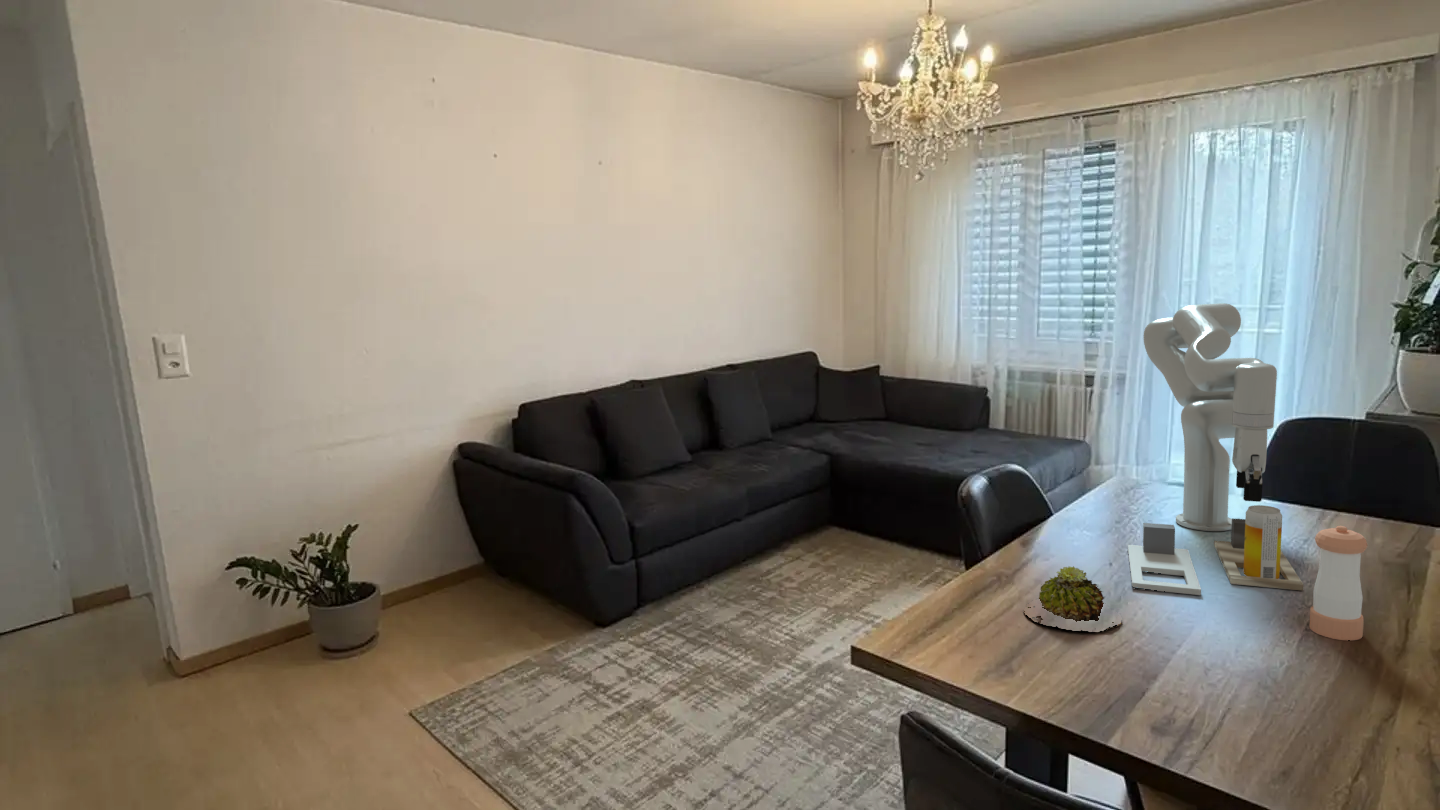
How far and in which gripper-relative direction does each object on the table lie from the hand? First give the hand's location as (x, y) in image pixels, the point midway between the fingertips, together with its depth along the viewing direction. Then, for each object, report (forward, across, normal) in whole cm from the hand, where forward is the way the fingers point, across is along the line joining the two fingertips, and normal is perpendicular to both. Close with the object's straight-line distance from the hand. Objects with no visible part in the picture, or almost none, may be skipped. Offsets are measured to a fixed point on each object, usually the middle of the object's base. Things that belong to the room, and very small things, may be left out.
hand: (1248, 494), depth 169 cm
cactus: (+13, +47, -34) cm, 60 cm away
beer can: (+13, +17, 0) cm, 22 cm away
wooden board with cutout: (+13, +10, 0) cm, 17 cm away
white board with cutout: (+13, +18, -18) cm, 29 cm away
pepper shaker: (+12, +40, +7) cm, 43 cm away
